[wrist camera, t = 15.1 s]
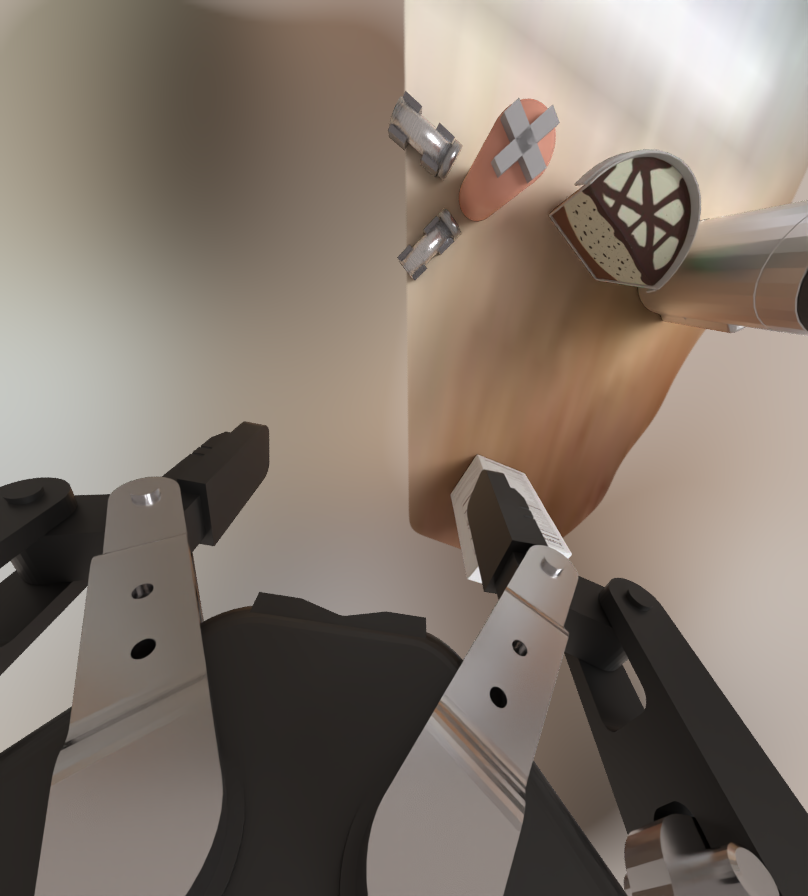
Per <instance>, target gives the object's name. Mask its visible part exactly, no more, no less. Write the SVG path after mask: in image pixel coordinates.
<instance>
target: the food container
mask: <svg viewBox="0 0 808 896" xmlns="http://www.w3.org/2000/svg"><path fill="white" fill-rule="evenodd" d="M577 185H584V186H582V187H581V188H580V189H579V190H577V191H576V192H575V193H574V194H572V195H571V196H570V197H569V198H567V199H566V200H565V201H564V202H562V203H561V204H560V205H559V206H558V207H556V208H555V209H554V210H553V211H552V212H551V213H550V214H549V215H548V216H549V217H550V218H551V220H552V221H553V222H554V224H555V225H556V227H557V228H558V229H559V231H560V232H561V233H562V235H563V236H564V238H565V239H566V240H567V242H568V243H569V244H570V246H571V247H572V249H573V250H574V251H575V253H576V254H577V256H578V257H579V258H580V260H581V261H582V262H583V264H584V265H585V267H586V268H587V269H588V271H589V272H590V273H591V275H592V276H593V278H594V279H595V280H597V281H603V282H610V283H616V284H623V285H629V286H636V287H642V288H649V289H648V290H647V291H646V292H647V293H649V292H655V291H657V290H659V289H660V288H661V287H662V286H663V285H664V284H666V283H667V282H668V280H669V279H670V278H671V277H672V276H673V275H674V273H675V272H676V271H677V270H678V268H679V267H680V265H681V264H682V262H683V261H684V259H685V257H686V256H687V254H688V252H689V250H690V248H691V246H692V243H693V241H694V238H695V236H696V232H697V229H698V225H699V220H700V213H701V196H700V190H699V185H698V183H697V180H696V178H695V175H694V174H693V172H692V171H691V169H690V168H689V166H688V165H687V164H686V163H684V162H683V161H682V160H681V159H680V158H678V157H676V156H674V155H672V154H670V153H668V152H664V151H660V150H649V149H644V150H637V151H631V152H626V153H621V154H619V155H616V156H613V157H611V158H608V159H606V160H605V161H603V162H601V163H599V164H598V165H596V166H595V167H593V168H592V169H591V170H589V171H588V172H587V173H586V174H584V175H583V176H582V177H581V178H580V179H579V180H578V181H577V182H576V183H575V186H577Z"/></svg>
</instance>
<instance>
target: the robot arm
mask: <svg viewBox="0 0 808 896" xmlns="http://www.w3.org/2000/svg"><path fill="white" fill-rule="evenodd" d="M648 289H649V288H642V287H638V294H639V297H640V300H641V302H642V303H643V305H644V306H645V307H646V308H647V309H649V310H650V311H652V312H655V313H658V314H660V316H661V317H662V320H663V321H665V322H671V323H677V324H682V325H688V326H694V327H699V328H705V329H711V330H716V331H722V332H727V333H734V332H737V331H740V330H741V329H743V328H745V327H751V328H757V329H764V330H770V331H777V332H785V333H791V334H798V335H804V336H808V200H806V201H801V202H795V203H790V204H785V205H780V206H775V207H769V208H764V209H759V210H754V211H749V212H744V213H738V214H733V215H728V216H723V217H718V218H712V219H704V220H700V221H699V225H698V229H697V232H696V236H695V238H694V241H693V243H692V246H691V248H690V250H689V252H688V254H687V256H686V257H685V259H684V261H683V262H682V264H681V265H680V267H679V268H678V270H677V271H676V272H675V273H674V275H673V276H672V277H671V278H670V279H669V280H668V282H667V283H666V284H664V285H663V286H662V287H661V288H660V289H659V290H657V291H655V292H649V293H647V292H646V291H647V290H648ZM268 468H269V429H268V427H267V426H266V425H261V424H256V423H250V422H243V423H241V424H240V425H239V426H238V427H237V428H235V429H234V430H233V431H232V432H231V433H230V432H224V433H221V434H219V435H216V436H214V437H211V438H210V439H209V440H207V441H206V442H205V443H204V444H202V445H201V447H199V448H197V449H196V450H195V451H194V452H193V453H192V454H190V455H189V456H187V457H186V458H185V459H183V460H182V461H181V462H180V463H178V464H177V465H176V466H175V467H173V468H172V469H171V470H170V471H168V472H167V473H166V474H164V476H162V477H145V478H140V479H136V480H133V481H130V482H128V483H125V484H123V485H121V486H120V487H118V488H117V489H115V490H114V491H113V492H112V493H111V494H107V495H75V496H74V494H73V491H72V489H71V487H70V485H69V483H67V482H66V481H65V480H62V479H58V478H33V479H27V480H22V481H18V482H14V483H11V484H7V485H4V486H2V487H0V568H1V567H3V566H4V565H5V564H7V563H8V562H9V561H11V562H12V564H13V565H14V567H15V569H16V571H15V572H13V573H12V574H11V575H10V576H8V577H7V578H6V579H5V580H3V581H2V582H1V583H0V675H1V674H2V673H3V672H4V671H5V670H6V669H7V668H8V667H9V666H10V665H11V664H12V663H13V662H14V661H15V660H16V659H17V658H18V657H19V655H21V654H22V653H23V652H24V651H25V649H27V648H28V647H29V645H30V644H31V643H32V642H33V641H34V640H35V639H36V638H37V637H38V636H39V635H40V634H41V633H42V632H43V631H44V630H45V629H46V628H47V627H48V626H49V625H50V624H51V623H52V622H53V621H54V620H55V619H56V618H57V617H58V616H59V615H60V614H61V613H62V612H63V611H64V610H65V608H66V607H67V606H68V605H69V604H70V603H71V602H72V601H73V600H74V599H75V598H76V597H77V596H78V595H79V594H80V593H81V592H82V591H83V590H84V589H85V588H86V587H87V586H88V587H87V596H86V603H85V610H84V618H83V626H82V634H81V641H80V649H79V656H78V664H77V672H76V679H75V688H74V695H73V702H72V707H70V708H69V709H67V710H66V711H64V712H63V713H61V714H60V715H58V716H57V717H55V718H53V719H52V720H50V721H49V722H47V723H46V724H44V725H43V726H41V727H40V728H38V729H36V730H35V731H34V732H32V733H30V734H29V735H27V736H26V737H24V738H23V739H21V740H20V741H18V742H17V743H15V744H13V745H12V746H11V747H9V748H7V749H6V750H4V751H3V752H1V753H0V896H808V813H807V812H806V811H805V809H804V808H803V806H802V805H801V804H800V802H799V801H798V799H797V798H796V796H795V795H794V794H793V792H792V791H791V789H790V788H789V786H788V785H787V784H786V782H785V781H784V779H783V778H782V777H781V775H780V774H779V772H778V771H777V769H776V768H775V766H774V765H773V764H772V762H771V761H770V759H769V758H768V757H767V755H766V754H765V752H764V751H763V749H762V748H761V746H760V745H759V744H758V742H757V741H756V739H755V738H754V737H753V735H752V734H751V732H750V731H749V729H748V728H747V727H746V725H745V724H744V723H743V721H742V719H741V718H740V717H739V715H738V714H737V712H736V711H735V710H734V708H733V707H732V705H731V704H730V702H729V701H728V699H727V698H726V697H725V695H724V694H723V692H722V691H721V690H720V688H719V687H718V686H717V684H716V683H715V681H714V680H713V678H712V677H711V675H710V674H709V672H708V671H707V670H706V668H705V667H704V665H703V664H702V663H701V661H700V660H699V658H698V657H697V655H696V654H695V652H694V651H693V650H692V648H691V647H690V645H689V644H688V643H687V641H686V640H685V638H684V637H683V635H682V634H681V632H680V631H679V630H678V628H677V627H676V625H675V624H674V623H673V621H672V620H671V618H670V617H669V615H668V614H667V613H666V611H665V610H664V608H663V607H662V606H661V604H660V603H659V602H658V601H657V600H656V598H655V597H653V596H652V595H651V594H650V593H649V592H648V591H646V590H645V589H643V588H642V587H641V586H639V585H638V584H636V583H634V582H631V581H629V580H627V579H623V578H614V579H612V580H611V581H610V582H609V583H608V584H607V585H606V586H605V587H603V586H601V585H598V584H596V583H594V582H591V581H589V580H587V579H584V578H582V577H580V576H578V573H577V571H576V569H575V567H574V565H573V564H572V563H571V562H570V560H568V559H567V558H566V557H565V556H564V555H563V554H561V553H560V552H558V551H557V550H555V549H553V548H550V547H548V545H547V543H546V541H545V539H544V537H543V535H542V533H541V531H540V529H539V527H538V525H537V523H536V520H535V519H533V517H534V516H533V514H532V512H531V510H529V506H528V504H527V502H526V500H525V498H524V497H523V496H522V495H521V494H520V493H519V492H518V491H517V490H516V489H515V488H511V487H510V485H509V483H508V481H507V479H506V477H505V475H504V473H500V472H495V471H490V470H485V469H484V470H482V471H481V473H480V475H479V477H478V480H477V482H476V485H475V487H474V489H473V492H472V494H471V497H470V499H469V502H468V507H467V518H468V522H469V527H470V531H471V535H472V540H473V544H474V549H475V553H476V558H477V562H478V567H479V571H480V576H481V580H482V585H483V589H484V592H489V593H495V594H497V595H498V599H499V600H498V602H497V604H496V605H495V607H494V609H493V610H492V612H491V614H490V616H489V617H488V619H487V621H486V622H485V624H484V626H483V627H482V629H481V631H480V632H479V634H478V636H477V637H476V639H475V641H474V643H473V644H472V646H471V648H470V650H469V651H468V653H467V654H466V656H465V658H464V660H462V659H461V658H460V657H459V655H458V654H457V653H456V652H455V651H454V650H453V649H451V648H450V647H449V646H448V645H447V644H445V643H444V642H443V641H441V640H440V639H438V638H437V637H435V636H433V635H432V634H429V633H427V632H426V618H424V617H417V616H411V615H405V614H398V613H392V612H379V613H369V614H359V615H350V616H341V615H338V614H336V613H333V612H331V611H329V610H326V609H324V608H322V607H320V606H317V605H315V604H313V603H311V602H308V601H306V600H304V599H301V598H295V597H288V596H282V595H275V594H268V593H262V592H259V594H258V596H257V598H256V600H255V602H254V604H253V606H247V607H242V608H238V609H233V610H230V611H227V612H224V613H221V614H219V615H216V616H214V617H211V618H210V619H207V620H206V621H204V619H203V613H202V608H201V601H200V595H199V589H198V583H197V577H196V571H195V564H194V558H193V553H192V552H193V551H194V549H195V548H196V547H197V546H198V544H204V545H211V546H215V545H216V543H217V542H218V541H219V539H220V538H221V536H222V535H223V534H224V532H225V531H226V530H227V528H228V527H229V526H230V524H231V523H232V522H233V520H234V519H235V517H236V516H237V515H238V514H239V512H240V511H241V509H242V508H243V507H244V505H245V504H246V503H247V501H248V500H249V499H250V497H251V496H252V495H253V493H254V492H255V491H256V489H257V488H258V486H259V485H260V484H261V482H262V481H263V480H264V478H265V476H266V474H267V472H268ZM563 654H565V656H566V659H567V662H568V665H569V668H570V671H571V674H572V676H573V679H574V682H575V685H576V688H577V691H578V694H579V696H580V699H581V702H582V705H583V708H584V711H585V714H586V716H587V719H588V722H589V725H590V728H591V731H592V733H593V736H594V739H595V742H596V744H597V748H598V751H599V753H600V756H601V759H602V762H603V765H604V768H605V770H606V773H607V776H608V779H609V782H610V785H611V787H612V790H613V793H614V796H615V799H616V802H617V805H618V807H619V810H620V814H621V816H622V819H623V822H624V825H625V828H626V831H627V834H628V836H627V839H626V842H625V848H624V858H625V866H626V871H627V873H626V875H625V877H624V890H625V891H624V890H623V888H622V887H621V885H620V884H619V883H618V881H617V879H616V878H615V877H614V875H613V874H612V872H611V871H610V869H609V868H608V867H607V865H606V864H605V863H604V861H603V859H602V858H601V857H600V855H599V854H598V852H597V851H596V849H595V848H594V847H593V845H592V844H591V842H590V841H589V840H588V838H587V837H586V835H585V834H584V832H583V831H582V829H581V828H580V826H579V825H578V824H577V822H576V821H575V819H574V818H573V816H572V815H571V814H570V812H569V811H568V809H567V808H566V807H565V805H564V804H563V802H562V801H561V799H560V798H559V796H558V795H557V794H556V792H555V791H554V789H553V788H552V786H551V785H550V784H549V782H548V781H547V779H546V778H545V776H544V775H543V774H542V772H541V771H540V769H539V768H538V766H537V765H536V763H535V762H534V761H533V759H534V755H535V752H536V748H537V745H538V741H539V738H540V734H541V731H542V727H543V724H544V720H545V717H546V713H547V710H548V706H549V703H550V700H551V696H552V693H553V689H554V686H555V682H556V679H557V675H558V671H559V668H560V665H561V661H562V658H563ZM628 659H629V661H630V662H631V665H632V667H633V668H634V671H635V672H636V674H637V676H638V678H639V680H640V682H641V684H642V686H643V688H644V691H645V695H646V708H645V710H644V708H643V706H642V704H641V702H640V700H639V697H638V696H637V693H636V691H635V689H634V687H633V685H632V683H631V681H630V679H629V677H628V675H627V673H626V671H625V669H624V667H623V665H622V664H623V663H624V662H625V661H627V660H628Z"/></svg>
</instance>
